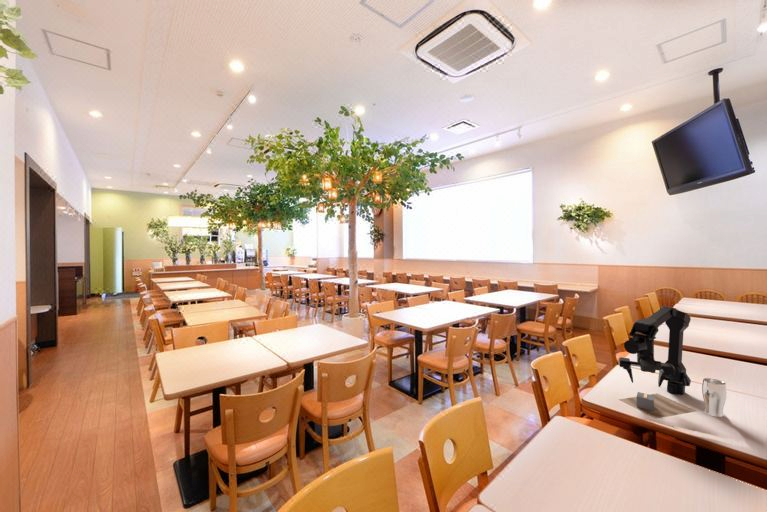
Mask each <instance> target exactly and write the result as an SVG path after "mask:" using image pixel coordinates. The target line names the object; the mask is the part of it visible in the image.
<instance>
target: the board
mask: <svg viewBox="0 0 767 512" xmlns="http://www.w3.org/2000/svg"><path fill="white" fill-rule="evenodd" d="M650 395H653V396H654V411H651V410H646V409H643V408H640V407H637V396H632V397H626V398H618V400H619V401H620V402H623V403H624V404H626V405H628V406H630V407H633V408H635V409H637V410H638V411H640V412H642V413H643V414H646V415H648V416H650V417H652V418H654V419H660V418H665V417H671V416H677V415H682V414H688V413H694V412H697V410H696V409H694V408H691V407H689V406H687V405H684V404H682V403H680V402H678V401H676V400H673V399H671V398H668V397H666V396H663V395H661V394H659V393H653V394H651V393H650Z"/></svg>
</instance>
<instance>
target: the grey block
mask: <svg viewBox="0 0 767 512" xmlns="http://www.w3.org/2000/svg"><path fill="white" fill-rule="evenodd" d="M636 397H637V407H640V408H643V409H647V410H651V411H654V396H653V395H651V394H648V393H644V392H640V391H637V395H636Z"/></svg>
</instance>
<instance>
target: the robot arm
mask: <svg viewBox="0 0 767 512" xmlns="http://www.w3.org/2000/svg"><path fill="white" fill-rule="evenodd" d="M690 322H691V316H690V315H689V314H688V313H687V312H684V311H681V310H679V309H677V308H675V307H672V306H661V307H660V308H659V309H658V310H657V311H655V312H654V313H653V314H651V315H650V316H648V317H645V318H640V319H638V320H636V321H635V322H634V323H633V325H632V327H631V330H630V331H629V334H628V335H629V337H628V340H626V341H624V342H623V348H624V350H625V351H626V352H627V353H629V354H630V355H631V354H632V355H636V361H634V360H631V359H630V358H627V357H621V356H620V357H618V365H619V366H618V367H620V368H622V369H623V370H625V371H627V373H628V377H629V378H630V381H631V383H632V384H633V383H634V377H633V371H632V370H633V369H632V366H633V367H639V368H640V370H641V372H643V373H652V374H655V373H656V371H659V372H658V381H657V383H658V384H657V385H658V388H660V387H661V386H662V384H663V383H664V381H667V384H666V393H669V394H672V395H680V396H681V395H682V396H683V395H685V393H686V387H690V386H691V382H692V380H691V378H690V377H689V376H688V374H687V369H686V368H687V367H685V365H684V364H683V345H684V331H685V330H686V329H688V327H689V326H690ZM663 324H665V325H666V327H667V328H668V331H669V332H668V333H669V334H668V351H667V360H666V361H665V362H662V361H659V360H655V339H657V337H656V335H657V333H658V332H659V327H660V326H662V325H663Z"/></svg>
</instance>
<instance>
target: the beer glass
mask: <svg viewBox="0 0 767 512" xmlns="http://www.w3.org/2000/svg"><path fill="white" fill-rule="evenodd" d="M701 391H702V399H703V403H704V410H703V411H704V413H705V414H707V415H709V416H712V417H715V418H724V416H725V415H724V407H725V405H726V402H727V397H728V396H727V393H728V392H727V382H725V381H722V380H720V379H717V378H711V377H704V378H702V385H701Z"/></svg>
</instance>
